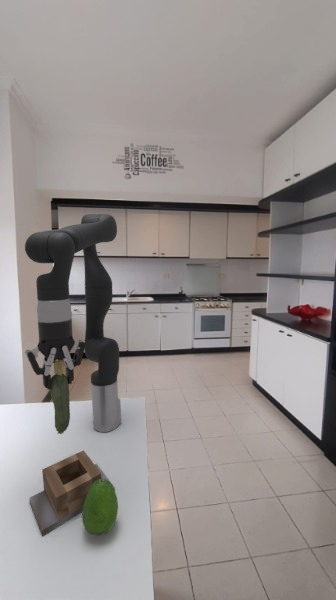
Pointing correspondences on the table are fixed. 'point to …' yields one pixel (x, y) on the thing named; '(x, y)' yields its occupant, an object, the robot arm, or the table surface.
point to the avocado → (100, 507)
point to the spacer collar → (64, 491)
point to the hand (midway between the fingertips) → (59, 385)
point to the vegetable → (60, 398)
